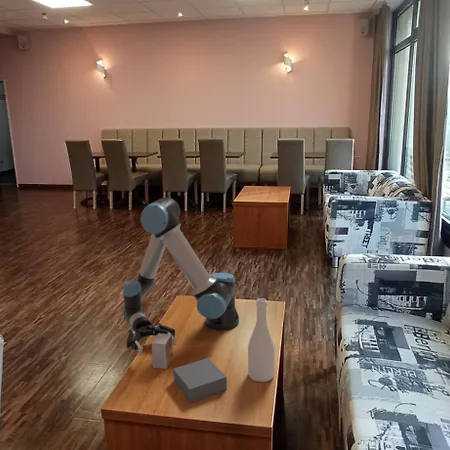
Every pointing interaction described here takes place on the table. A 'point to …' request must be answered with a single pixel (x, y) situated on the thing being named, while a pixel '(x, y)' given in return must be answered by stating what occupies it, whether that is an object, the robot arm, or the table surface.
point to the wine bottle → (261, 347)
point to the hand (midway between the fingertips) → (158, 347)
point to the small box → (162, 351)
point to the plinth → (199, 379)
